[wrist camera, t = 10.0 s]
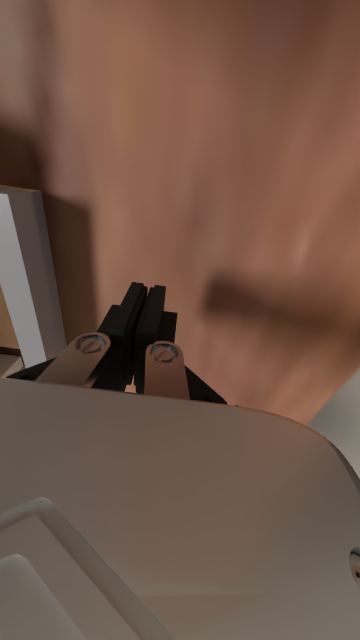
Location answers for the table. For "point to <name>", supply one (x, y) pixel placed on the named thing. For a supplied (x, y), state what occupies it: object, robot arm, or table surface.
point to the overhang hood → (9, 364)
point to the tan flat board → (28, 279)
